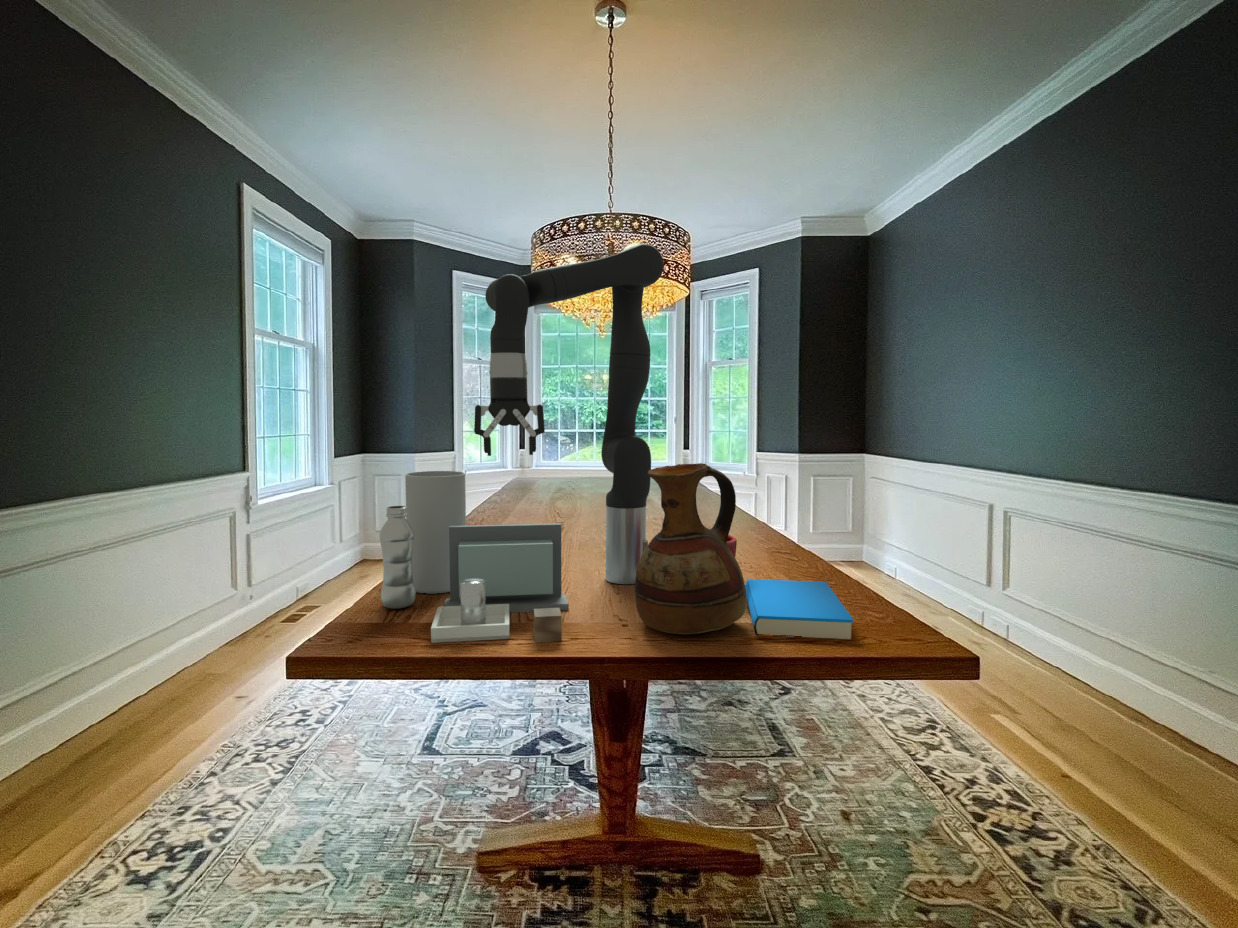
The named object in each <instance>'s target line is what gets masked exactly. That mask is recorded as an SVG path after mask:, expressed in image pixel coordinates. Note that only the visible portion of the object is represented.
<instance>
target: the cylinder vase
mask: <svg viewBox="0 0 1238 928" xmlns="http://www.w3.org/2000/svg"><path fill="white" fill-rule="evenodd" d="M404 478H405V483H404V484H405V485H404V486H405V506H406V513H407V516H405V519H406V520H407V521H408V523H409V524H410V525H411V527H412V528H413V532H414V538H413V548H412V559H411V561H412V573H413V582H414V585H415V590H416V594H417V593H419V594H423V593H426V595H434V594H435V595H436V594H437V595H438V593H439V594H445V593H446V594H448V593H450V553H449V526H463V525H467V513H466V512H467V511H466V509H467V506H466V500H467V499H466V472H464V471H455V470H427V471H424V470H423V471H414V472H408V473H405V476H404Z"/></svg>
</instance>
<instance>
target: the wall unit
mask: <svg viewBox="0 0 1238 928" xmlns="http://www.w3.org/2000/svg"><path fill="white" fill-rule="evenodd" d="M449 553H450V592H449V597H448V598H445V600H444V604H443V606H442V607H444V606H461V603H460V582H461V581H463V580H466V579H483V580H485V581H486V605H491V604H509V613H528V612H530V613H531V612H534V609H541V608H560V611H569V607H570V605H569V601H568V597H567V594H566V593H562V523H561V522H558V523H557V522H556V523H554V522H553V523H521V524H520V523H518V524H517V523H516V524H515V523H514V524H513V523H511V524H481V525H480V524H475V525H473V524H472V525H471V524H469V525H467V524H466V525H463V526H449Z"/></svg>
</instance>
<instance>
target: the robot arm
mask: <svg viewBox="0 0 1238 928" xmlns="http://www.w3.org/2000/svg"><path fill="white" fill-rule="evenodd" d="M664 263H665V262H664V258H663V256H662V254H661V252H660V251H659V250H658V249H657V247H655V246H653V245H650V244H647V243H639V244H635V245H631V246H629V247H628V248H625V249H623V250H621V251H620V252H619V253H617V254H613V255H610V256H605V257H602V258H597V259H592V260H588V261H587V260H586V261H582V262H580V261H579V262H574V263H569V264H562V265H556V266H553V267H548V268H547V267H545V268H541V269H538V270H534V271H533V272H531V273H528V274H523V275H516V274H513V273H509V274H505V275H504V274H503V275H501V276H500V277H499V278H498V277H497V279H495V280H493V281H492V282H490V284H489V285H488V286H487V288H486V291H485V301H486V304H487V306H488V307H489V308H490V309H491V310H492V311H493V312H494V323H493V325H492V327H491V329H490V335H489V336H490V337H489V340H490V342H489V343H490V359H489V372H488V373H489V389H490V390H489V393H490V402H489V405H480V404H477V405H475V407H474V427H473V428H474V429H473V432H474V434H475V435H478V436H480V437H482V438H483V452H484V454H487V457H492V438H491V437H490V436H491V434H492V432H494V429H495V428H496V427H497V426H498V425H499V426H501V427H508V426H513V427H514V426H515V427H517V426H520V425H522V427H523V428H524V429H525V430H526V432H527V433H528V434H529V437H528V455H529V456H533V455H534V453H536V451H537V436H539V435H541V434H544V433H545V431H546V430H545V418H544V406H543V405H542V404H537V405H530V404H529V402H528V401H529V400H528V367H527V363H528V362H527V359H526V358H527V357H526V356H527V355H526V334H525V333H526V332H525V331H526V326H527V321H528V313H529V308H531V307H535V306H539V305H546V304H547V305H548V304H552V303H556V302H557V303H558V302H561V301H566V300H571V299H574V298H577V297H578V298H579V297H581V296H585V295H587V294H590V293H594V292H597V291H601V290H604V289H605V290H606V289H608V288H611V295H612V297H611V298H612V316H611V317H612V318H611V329H610V330H611V331H610V332H611V334H610V349H609V365H608V387H607V407H606V408H607V409H606V419H605V425H604V432H603V438H602V444H601V461H602V464H603V466H604V467H605V469H606V470H607V471H608V472H610V473H611V474H612V478H613V479H612V486H611V488H610V490H609V491H608V492H607V493H606V496H605V571H604V572H605V573H604V574H605V580H606V581H607V582H609V583H613V584H617V585H635V579H636V571H637V567H638V563H639V561H640V558H641V555H642V553H643V552H644V550H645V549H646V547H647V546H648V544H649V541H648V539H647V499H648V496H649V494H650V490H651V479H652V478H651V477H650V476H649V475H648V471H649V470H650V469H652V454H651V450H650V447H649V445H648V443H647V441H646V440H644V439H643V438H641V437H639V436H636V419H637V414H638V409H639V406H640V403H641V401H642V398H643V397H644V394H645V391H646V389H647V385H648V383H649V378H650V369H651V345H650V340H649V336H648V333H647V330H646V327H645V323H644V319H643V312H642V311H643V307H642V306H643V296H644V295H643V294H644V288H648V287H650V286H652V285H653V284H655V283H656V282H658V280H660V278H661V277H662V274H663V271H664V267H665V265H664ZM486 412H489V414H490V415H491V416H492V418H493V420H492V421H491V422H490V423H489V425H488V426H487V428H486V429H482V417H484V416H485V415H486ZM530 412H532V413H533V415H534V416H536V418H537V428H535V429H534V428H533V427H532V426H531V425H530V424H529V422H528V421H527V420H526V417H527V416H528V414H529V413H530Z"/></svg>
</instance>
